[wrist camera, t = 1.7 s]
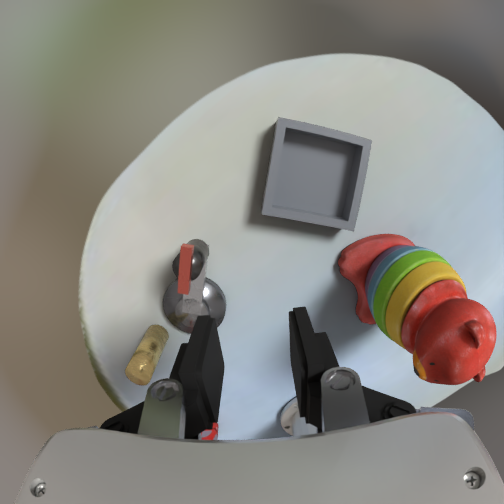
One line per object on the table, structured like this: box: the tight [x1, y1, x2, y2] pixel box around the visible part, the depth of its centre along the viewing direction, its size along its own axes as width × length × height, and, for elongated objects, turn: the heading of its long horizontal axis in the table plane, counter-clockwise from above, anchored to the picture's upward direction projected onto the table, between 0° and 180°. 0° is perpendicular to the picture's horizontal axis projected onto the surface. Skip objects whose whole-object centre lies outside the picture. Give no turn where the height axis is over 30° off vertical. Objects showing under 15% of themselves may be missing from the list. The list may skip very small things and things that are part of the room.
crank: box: [173, 239, 209, 328], centre depth 25 cm, size 11×4×6 cm, turn 171°
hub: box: [163, 277, 226, 334], centre depth 30 cm, size 7×7×1 cm
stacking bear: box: [338, 234, 496, 385], centre depth 21 cm, size 11×10×18 cm
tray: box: [261, 117, 372, 231], centre depth 25 cm, size 9×9×3 cm
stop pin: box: [125, 325, 169, 385], centre depth 28 cm, size 3×3×8 cm
